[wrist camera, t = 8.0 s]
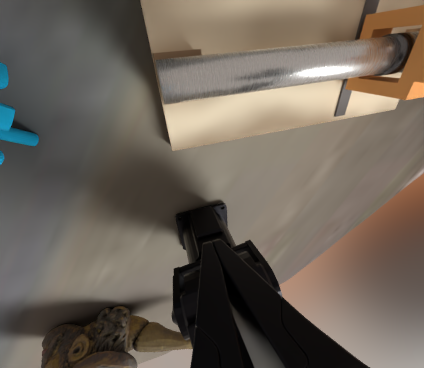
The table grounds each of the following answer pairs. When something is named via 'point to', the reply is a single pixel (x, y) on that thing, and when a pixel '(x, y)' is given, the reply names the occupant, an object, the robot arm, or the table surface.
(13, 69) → the table surface
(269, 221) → the table surface
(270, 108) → the tube stand
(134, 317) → the brown carved figurine
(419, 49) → the collar
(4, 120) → the gear
